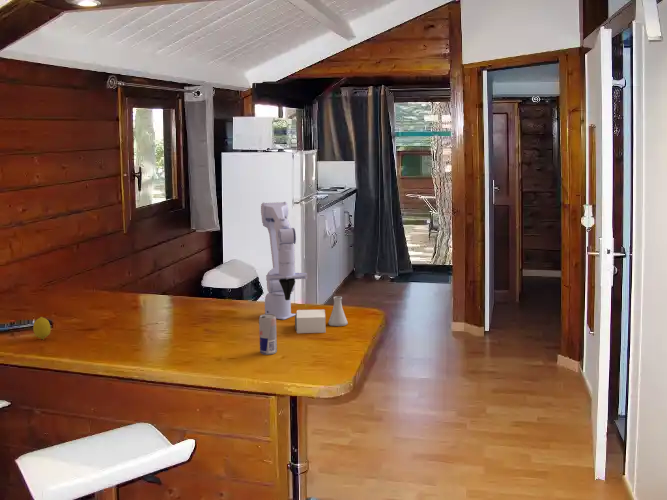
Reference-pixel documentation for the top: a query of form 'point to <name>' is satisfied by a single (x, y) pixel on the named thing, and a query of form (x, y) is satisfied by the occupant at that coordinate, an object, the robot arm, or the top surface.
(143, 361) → the top surface
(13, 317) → the top surface
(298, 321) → the socket block
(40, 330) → the lemon
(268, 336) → the energy drink
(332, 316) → the flask
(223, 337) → the top surface
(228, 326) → the top surface
